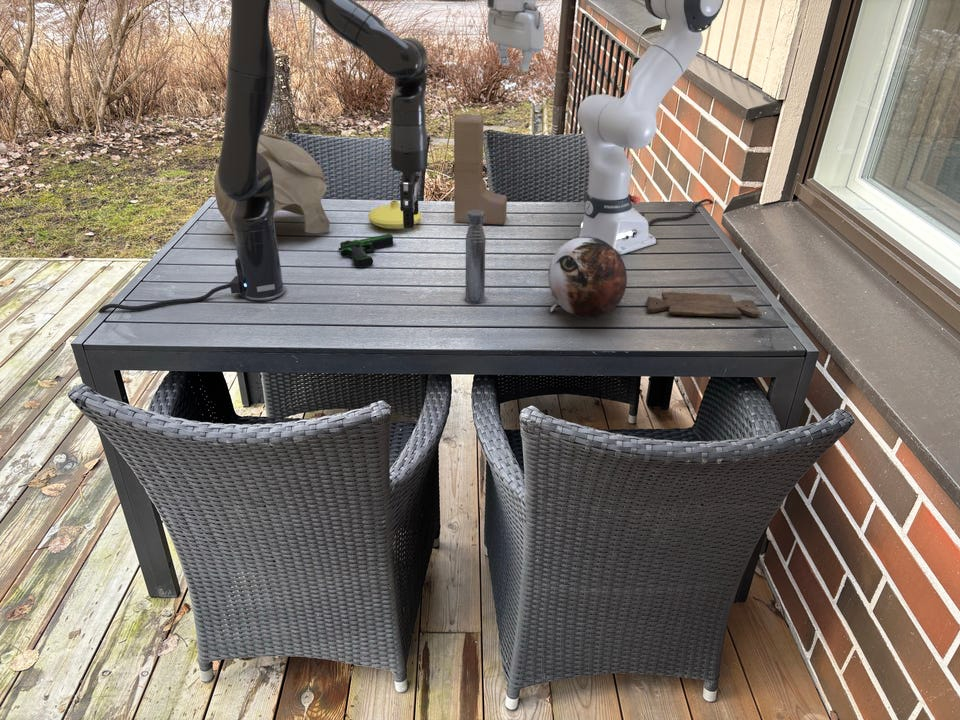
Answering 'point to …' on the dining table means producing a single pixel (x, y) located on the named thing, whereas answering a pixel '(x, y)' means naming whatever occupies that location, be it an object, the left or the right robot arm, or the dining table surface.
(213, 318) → the dining table surface
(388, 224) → the yellow domed disc
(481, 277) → the bottle
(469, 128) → the decorative block
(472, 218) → the cap
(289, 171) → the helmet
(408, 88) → the left robot arm
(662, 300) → the dark wooden board
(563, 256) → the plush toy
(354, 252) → the handgun
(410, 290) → the dining table surface
